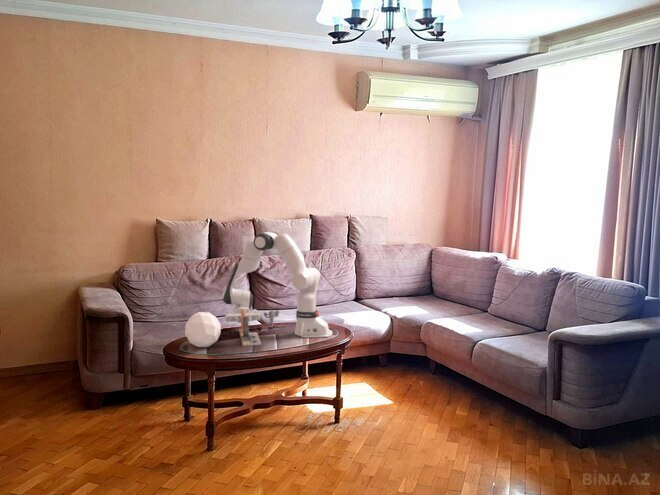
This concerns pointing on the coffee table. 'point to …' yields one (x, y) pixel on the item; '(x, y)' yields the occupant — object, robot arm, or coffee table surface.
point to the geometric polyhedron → (202, 329)
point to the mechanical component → (271, 316)
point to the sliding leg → (243, 313)
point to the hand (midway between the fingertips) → (243, 320)
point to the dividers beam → (245, 332)
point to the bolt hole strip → (254, 339)
